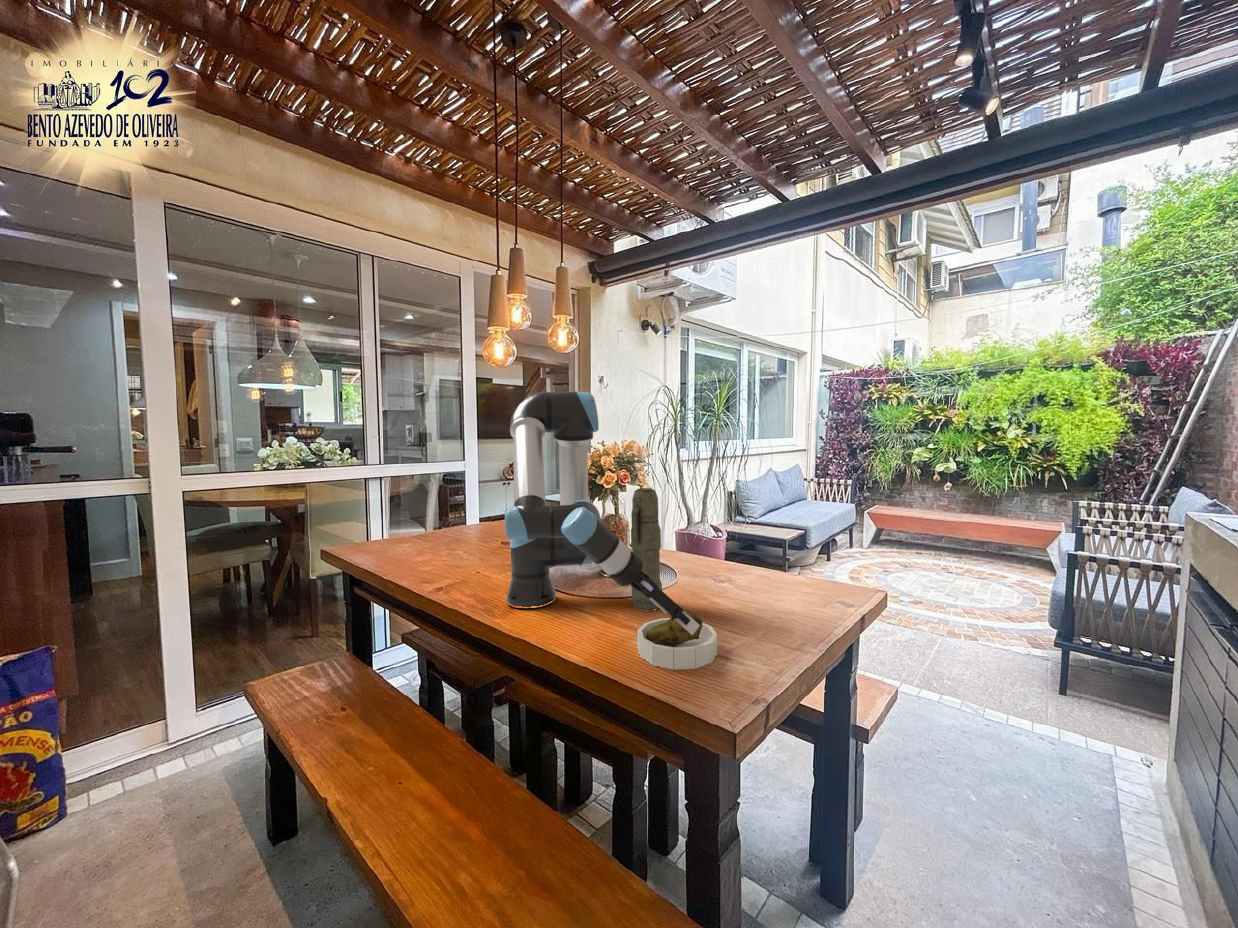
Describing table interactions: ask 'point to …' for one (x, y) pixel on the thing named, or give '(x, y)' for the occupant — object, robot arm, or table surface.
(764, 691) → the table surface
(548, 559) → the robot arm
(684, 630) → the potato
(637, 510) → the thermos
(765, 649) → the table surface
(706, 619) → the table surface
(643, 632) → the bowl
